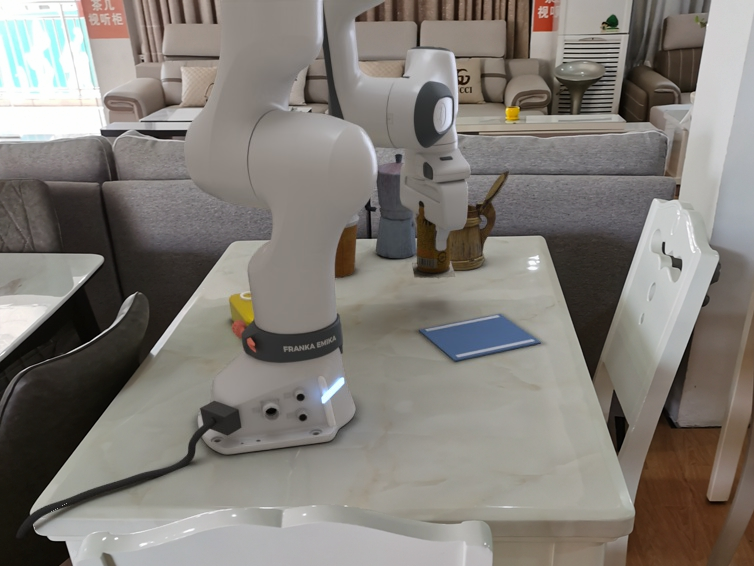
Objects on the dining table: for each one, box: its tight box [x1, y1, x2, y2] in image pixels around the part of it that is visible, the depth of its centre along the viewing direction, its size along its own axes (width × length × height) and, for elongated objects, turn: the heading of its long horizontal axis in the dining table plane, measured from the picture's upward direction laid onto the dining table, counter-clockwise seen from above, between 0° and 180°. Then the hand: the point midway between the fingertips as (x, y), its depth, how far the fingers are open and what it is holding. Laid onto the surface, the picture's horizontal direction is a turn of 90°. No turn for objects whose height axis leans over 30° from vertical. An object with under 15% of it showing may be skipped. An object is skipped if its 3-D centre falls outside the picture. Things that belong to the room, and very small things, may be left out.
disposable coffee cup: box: [335, 213, 360, 278], centre depth 158 cm, size 10×10×12 cm
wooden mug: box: [450, 170, 511, 271], centre depth 158 cm, size 9×14×18 cm, turn 89°
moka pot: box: [364, 153, 417, 259], centre depth 165 cm, size 10×15×20 cm, turn 89°
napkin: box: [418, 313, 542, 363], centre depth 133 cm, size 16×14×1 cm
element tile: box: [228, 290, 254, 326], centre depth 138 cm, size 15×15×5 cm
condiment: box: [411, 201, 456, 279], centre depth 137 cm, size 7×8×12 cm
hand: (431, 243), depth 138 cm, fingers closed on condiment, 6 cm apart
